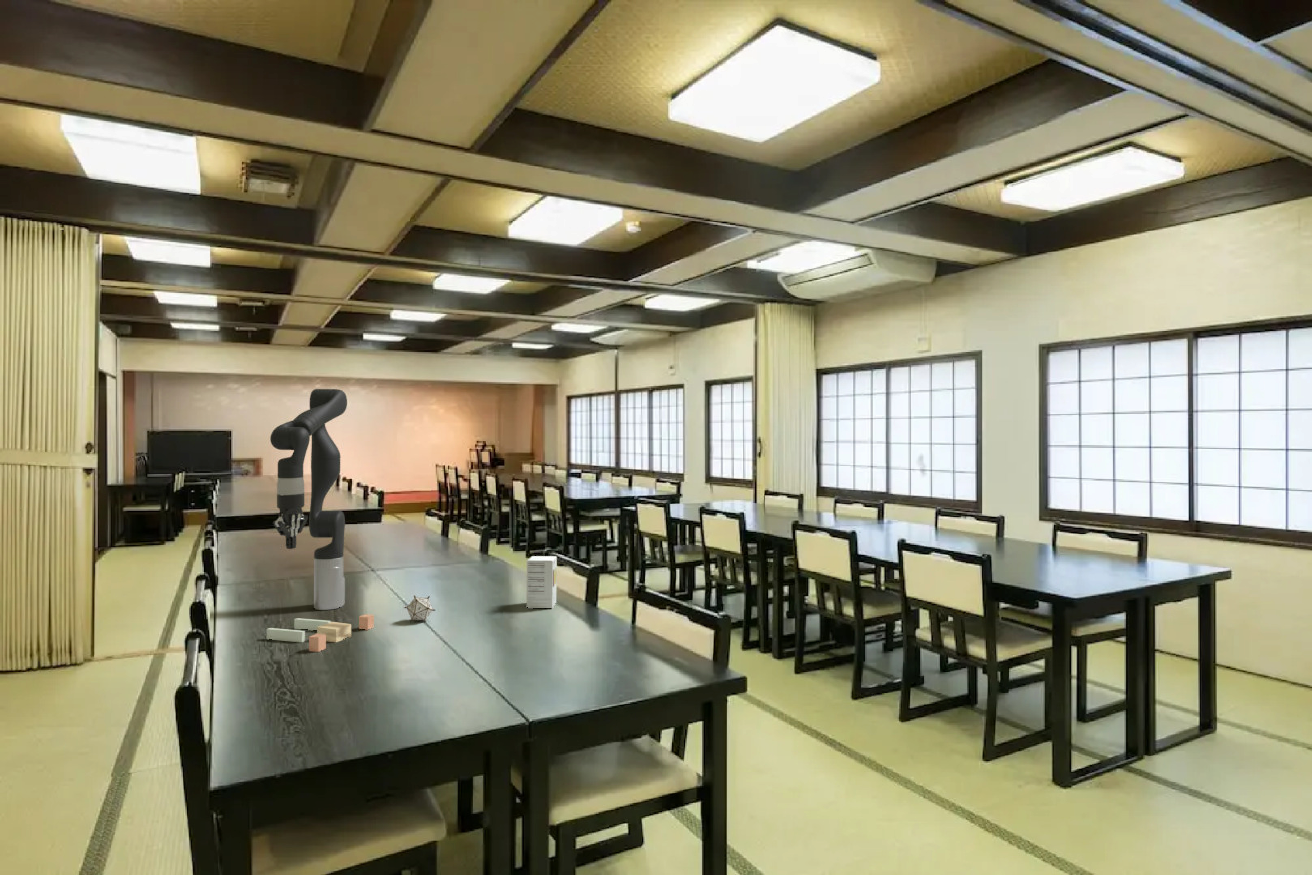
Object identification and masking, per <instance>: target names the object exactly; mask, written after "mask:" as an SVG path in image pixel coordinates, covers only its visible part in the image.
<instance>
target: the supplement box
mask: <svg viewBox="0 0 1312 875" xmlns="http://www.w3.org/2000/svg"><path fill="white" fill-rule="evenodd" d="M557 558H558V557H557V556H556V555H555V556H553V555H551V556H550V555H548V556H547V555H546V556H545V555H543V556H542V555H540V556H539V555H536V556H535V555H532V556H530V558H528V559H527V560H526V608H527V607H528V608H527V609H533V608H552V609H554V607H555V606H556V604H557V570H558V568H557V566H558V565H557V563H558V562H557V560H558V559H557ZM555 603H556V604H555Z"/></svg>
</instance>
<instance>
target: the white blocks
mask: <svg viewBox="0 0 1312 875" xmlns="http://www.w3.org/2000/svg"><path fill="white" fill-rule="evenodd" d="M293 622H294V627H293V628H294V629H287V628H285V629H284V628H276V627H269V628H266V640H269V639H272V640H271V641H285V642H294V643H295V642H296V643H304V642H306V630H301V629H308V630H307V631H313V630H317V627H318V626H321V625H324V624H327V623H330V622H332V620H325V619H324V620H323V619H311V618H301V617H300V618H299V617H298V618H294V621H293Z"/></svg>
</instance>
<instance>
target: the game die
mask: <svg viewBox="0 0 1312 875" xmlns="http://www.w3.org/2000/svg"><path fill="white" fill-rule="evenodd" d="M429 598H430V595H428V596H427V597H416V595H413V599H412V600H411V601H410V603H409V604H408V605H407V606H404V607H403V609H406V610H407V612H408V615H409V617H410V620H409V622H410V623H411V621H424V623H425V622H427V621H426V620H427V618H428V617H429V616H430V614H432V612H433V611H434V612H435V611H436V609H435V608H434V609H433V606H432V604H431V602H430V599H429Z"/></svg>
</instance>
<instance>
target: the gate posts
mask: <svg viewBox="0 0 1312 875" xmlns="http://www.w3.org/2000/svg"><path fill="white" fill-rule="evenodd" d="M358 619H359V620H358V623H359V625H358V629H365V630H364V631H369V630H368V629H370V630H372V629H374V628H373V627H374V626H375V621H374V620H375V615H374V614H362V615H359V618H358ZM371 628H372V629H371ZM308 639H309V640H308V648H309V649H308V651H309V652H316V653H317V652H318V653H319V652H321V650H322V651H323V650H326V649H327V641H326V634H317V633H315V634H313V635H310V636H308Z"/></svg>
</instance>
